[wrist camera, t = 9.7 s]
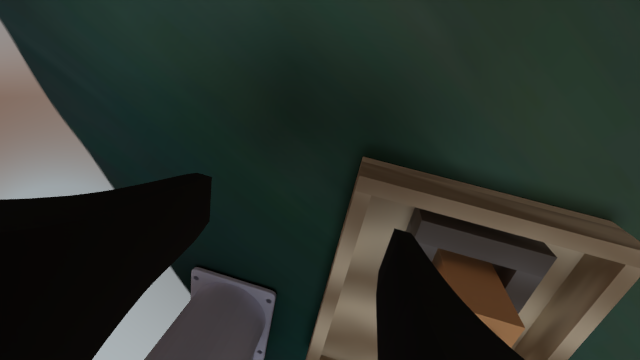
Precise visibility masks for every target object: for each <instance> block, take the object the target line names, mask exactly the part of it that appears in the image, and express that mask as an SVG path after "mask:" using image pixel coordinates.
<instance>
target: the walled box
mask: <svg viewBox="0 0 640 360" xmlns="http://www.w3.org/2000/svg"><path fill="white" fill-rule="evenodd" d="M394 228H395V229H399V230H402V231H406V232H409V233H411V234H412V235H413V236H414V238H415V239H416V240H417V242H418V243H419V245H420V246H421V248H422V249H423V251H424V252H425V253H426V255H427V256H428V258H429V259H430V261H431V262H432V260H433V258H434V256H435V254H436V252H437V250H438V248H440V249H443V250H447V251H450V252H454V253H457V254H461V255H464V256H468V257H472V258H475V259H479V260H482V261H486V262H489V263H492V265H493V267H494V269H495V271H496V273H497V275H498V277H499V279H500V280H501V282H502V284H503V286H504V288H505V290H506V292H507V294H508V296H509V298H510V300H511V302H512V303H513V305H514V307H515V309H516V311H517V313H518V315H519V317H520V319H521V321H522V323H523V325H524V326H525V330H524V331H523V332H522V334H521V335H520V336H519V338H518V339H517V341H516V342H515V343H514V345H513V346H512V347H511V348H512V349H513V350H514V351H515V352H516V353H518V354H519V355H520V356H521V357H522V358H524V359H525V360H568V359H569V357H570V356H571V355H572V354H573V353H574V352H575V351H576V349H577V348H578V347H579V346H580V345H581V344H582V343H583V341H584V340H585V339H586V338H587V337H588V336H589V335H590V333H591V332H592V331H593V330H594V329H595V328H596V327H597V325H598V324H599V323H600V322H601V321H602V320H603V319H604V317H605V316H606V315H607V314H608V313H609V312H610V311H611V309H612V308H613V307H614V306H615V305H616V304H617V303H618V301H619V300H620V299H621V298H622V297H623V296H624V295H625V293H626V292H627V291H628V290H629V289H630V288H631V287H632V285H633V284H634V283H635V282H636V281H637V280H638V279H639V277H640V242H639V241H638V240H637V239H635V238H634V237H633V236H631V235H630V234H628V233H627V232H626V231H624V230H623V229H622V228H620V227H619V226H617V225H616V224H615V223H613V222H612V221H609V220H605V219H601V218H597V217H594V216H590V215H586V214H582V213H578V212H574V211H571V210H567V209H563V208H559V207H555V206H551V205H547V204H544V203H540V202H536V201H532V200H528V199H524V198H521V197H517V196H513V195H509V194H505V193H501V192H498V191H494V190H490V189H486V188H482V187H478V186H474V185H471V184H467V183H463V182H459V181H455V180H451V179H448V178H444V177H440V176H436V175H432V174H428V173H425V172H421V171H417V170H413V169H409V168H405V167H401V166H398V165H394V164H390V163H386V162H382V161H378V160H375V159H371V158H367V157H363V158H362V161H361V165H360V168H359V172H358V175H357V179H356V182H355V186H354V189H353V193H352V196H351V200H350V203H349V207H348V210H347V214H346V217H345V221H344V225H343V228H342V232H341V235H340V239H339V242H338V246H337V249H336V253H335V256H334V260H333V263H332V267H331V270H330V274H329V277H328V281H327V284H326V288H325V292H324V295H323V299H322V302H321V306H320V309H319V313H318V316H317V320H316V323H315V327H314V330H313V334H312V337H311V341H310V344H309V348H308V352H307V356H306V360H378V351H377V318H376V290H377V280H378V271H379V268H380V266H381V263H382V260H383V258H384V255H385V252H386V250H387V247H388V244H389V242H390V239H391V236H392V234H393V231H394Z"/></svg>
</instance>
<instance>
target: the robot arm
mask: <svg viewBox="0 0 640 360" xmlns="http://www.w3.org/2000/svg"><path fill="white" fill-rule="evenodd" d="M211 180H212V177H210V176H206V175H203V174H199V173H193V174H186V175H181V176H176V177H172V178H167V179H163V180H158V181H154V182H149V183H145V184H140V185H135V186H130V187H125V188H120V189H114V190H109V191H103V192H96V193H89V194H80V195H73V196H60V197H47V198H33V199H9V200H0V360H92V359H93V357H94V356H95V355H96V353H97V352H98V351H99V349H100V348H101V346H102V345H103V344H104V342H105V341H106V340H107V338H108V337H109V336H110V335H111V333H112V332H113V331H114V329H115V328H116V327H117V325H118V324H119V323H120V322H121V320H122V319H123V318H124V316H125V315H126V314H127V313H128V311H129V310H130V309H131V308H132V307H133V305H134V304H135V303H136V302H137V300H138V299H139V298H140V297H141V296H142V294H143V293H144V292H145V291H146V290H147V289H148V288H149V287H150V285H151V284H152V283H153V282H154V281H155V280H156V279H157V278H158V277H159V276H160V275H161V274H162V273H163V272H164V271H165V270H166V269H167V268H168V267H169V266H170V265H171V264H172V263H173V262H174V261H175V260H176V259H177V258H178V257H179V256H180V255H181V254H182V253H183V252H184V251H185V250H186V249H187V248H188V247H189V246H190V245H191V244H192V243H193V242H194V241H195V240H196V238H197V237H198V236H199V235H200V233H201V232H202V231H203V229H204V228H205V226H206V225H207V224H208V222H209V218H210V199H211ZM269 299H270V300H269ZM275 300H276V293H275V292H274V291H272V290H270V289H266V288H263V287H260V286H257V285H254V284H250V283H247V282H244V281H241V280H238V279H234V278H231V277H228V276H225V275H222V274H218V273H215V272H212V271H209V270H206V269H202V268H199V267H195V268H194V269H193V270H192V272H191V300H190V302H189V303H188V304H187V306H186V307H185V308H184V309H183V311H182V312H181V313H180V315H179V316H178V317H177V319H176V320H175V321H174V322H173V324H172V325H171V326H170V327H169V329H168V330H167V331H166V333H165V334H164V335H163V336H162V338H161V339H160V340H159V341H158V343H157V344H156V345H155V347H154V348H153V349H152V350H151V352H150V353H149V354H148V355H147V357H146V358H145V359H144V360H264V357H265V352H266V347H267V342H268V336H269V331H270V326H271V321H272V315H273V310H274V305H275ZM376 318H377V351H378V360H525V359H524V358H522V357H521V356H520V355H519V354H518V353H516V352H515V351H514V350H513V349H512V348H511V347H509V346H508V345H507V344H506V343H505V342H504V341H503V340H502V339H501V338H500V337H498V336H497V335H496V334H495V333H494V332H493V331H492V330H491V329H490V328H489V327H488V326H487V325H486V324H485V323H484V322H482V321H481V320H480V319H479V317H478V316H477V315H476V314H475V313H474V312H473V311H472V310H471V309H470V308H469V307H468V306H467V305H466V304H465V303H464V302H463V301H462V299H461V298H460V297H459V296H458V295H457V294H456V293H455V291H454V290H453V289H452V288H451V287H450V285H449V284H448V283H447V282H446V281H445V279H444V278H443V277H442V275H441V274H440V273H439V271H438V270H437V269H436V267H435V266H434V265H433V263H432V262H431V261H430V259H429V258H428V256H427V255H426V253H425V252H424V251H423V249H422V248H421V246H420V245H419V243H418V242H417V240H416V239H415V238H414V236H413V235H412V234H411V233H409V232H406V231H402V230H399V229H395V228H394V231H393V234H392V236H391V239H390V242H389V244H388V247H387V250H386V252H385V255H384V258H383V260H382V263H381V266H380V268H379V271H378V280H377V290H376Z"/></svg>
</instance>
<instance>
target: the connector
mask: <svg viewBox="0 0 640 360" xmlns="http://www.w3.org/2000/svg"><path fill="white" fill-rule="evenodd" d="M432 263H433V265H434V266H435V267H436V269H437V270H438V271H439V273H440V274H441V275H442V277H443V278H444V279H445V281H446V282H447V283H448V284H449V285H450V287H451V288H452V289H453V290H454V291H455V293H456V294H457V295H458V296H459V297H460V298H461V299H462V301H463V302H464V303H465V304H466V305H467V306H468V307H469V308H470V309H471V310H472V311H473V312H474V313H475V314H476V315H477V316H478V317H479V319H480V320H481V321H482V322H484V323H485V324H486V325H487V326H488V327H489V328H490V329H491V330H492V331H493V332H494V333H495V334H496V335H497V336H498V337H500V338H501V339H502V340H503V341H504V342H505V343H506V344H507V345H508V346H509V347H512V346H513V345H514V343H515V342H516V341H517V339H518V338H519V336H520V335H521V334H522V332H523V331H524V330H525V326H524V325H523V323H522V321H521V319H520V317H519V315H518V313H517V311H516V309H515V307H514V305H513V303H512V302H511V300H510V298H509V296H508V294H507V292H506V290H505V288H504V286H503V284H502V282H501V280H500V279H499V277H498V275H497V273H496V271H495V269H494V267H493V265H492V263H489V262H486V261H482V260H479V259H475V258H472V257H468V256H464V255H461V254H457V253H454V252H450V251H447V250H443V249H440V248H438V250H437V252H436V254H435V256H434V258H433V260H432Z"/></svg>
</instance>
